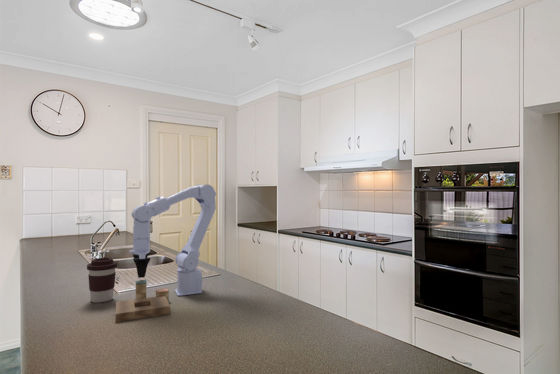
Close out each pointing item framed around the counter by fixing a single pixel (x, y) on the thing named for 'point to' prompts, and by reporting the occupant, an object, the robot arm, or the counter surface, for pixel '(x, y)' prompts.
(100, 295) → the coffee cup
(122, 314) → the hole board
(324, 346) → the counter surface
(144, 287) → the square peg
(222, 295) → the counter surface
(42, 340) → the counter surface
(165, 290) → the tan cubic piece
